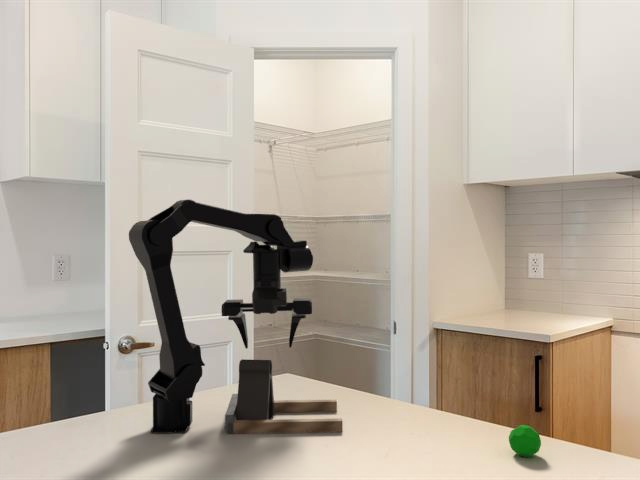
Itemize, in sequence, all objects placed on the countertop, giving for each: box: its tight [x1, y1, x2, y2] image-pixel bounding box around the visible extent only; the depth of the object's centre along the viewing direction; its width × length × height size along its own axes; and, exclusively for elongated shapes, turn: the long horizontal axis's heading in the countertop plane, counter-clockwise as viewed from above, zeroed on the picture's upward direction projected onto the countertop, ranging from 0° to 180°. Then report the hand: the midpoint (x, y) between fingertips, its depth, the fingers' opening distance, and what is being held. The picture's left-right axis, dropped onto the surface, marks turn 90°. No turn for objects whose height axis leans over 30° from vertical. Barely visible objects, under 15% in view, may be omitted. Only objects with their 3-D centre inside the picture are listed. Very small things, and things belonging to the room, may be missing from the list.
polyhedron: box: [508, 424, 542, 458], centre depth 96 cm, size 5×5×5 cm
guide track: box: [227, 399, 343, 435], centre depth 114 cm, size 21×14×2 cm, turn 93°
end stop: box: [224, 393, 238, 435], centre depth 113 cm, size 2×14×4 cm, turn 3°
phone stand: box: [236, 359, 276, 420], centre depth 114 cm, size 9×6×12 cm, turn 174°
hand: (268, 347), depth 123 cm, fingers open, 9 cm apart
